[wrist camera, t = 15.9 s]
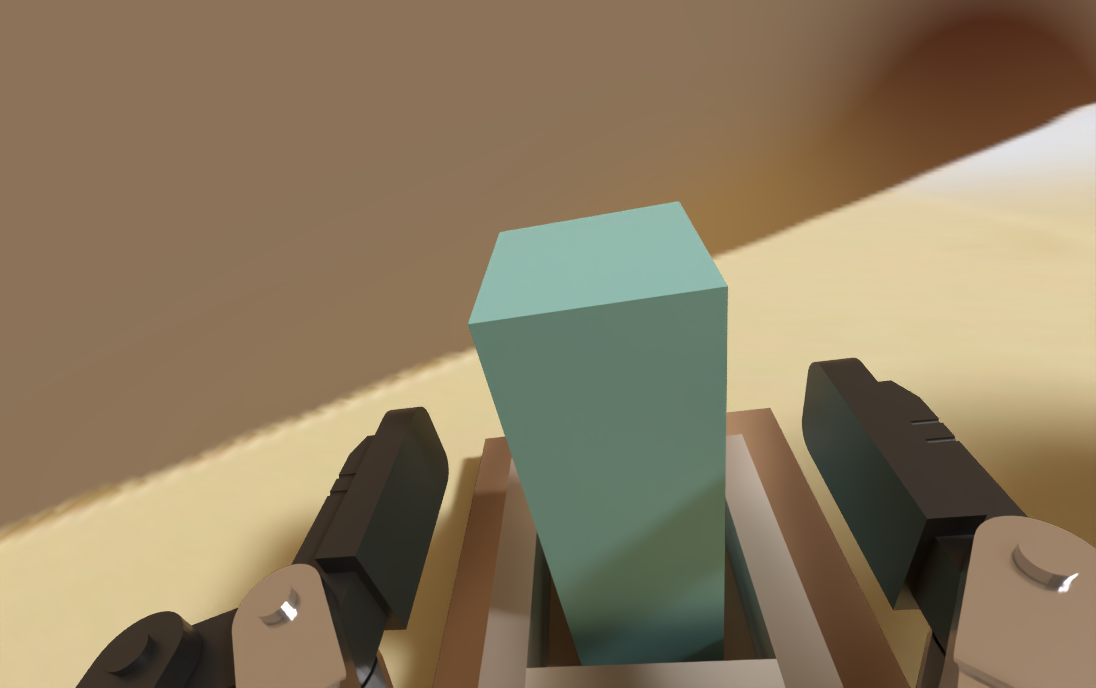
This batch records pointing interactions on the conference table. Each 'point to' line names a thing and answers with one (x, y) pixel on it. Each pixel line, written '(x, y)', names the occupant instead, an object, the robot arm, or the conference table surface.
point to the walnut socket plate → (749, 590)
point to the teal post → (617, 423)
